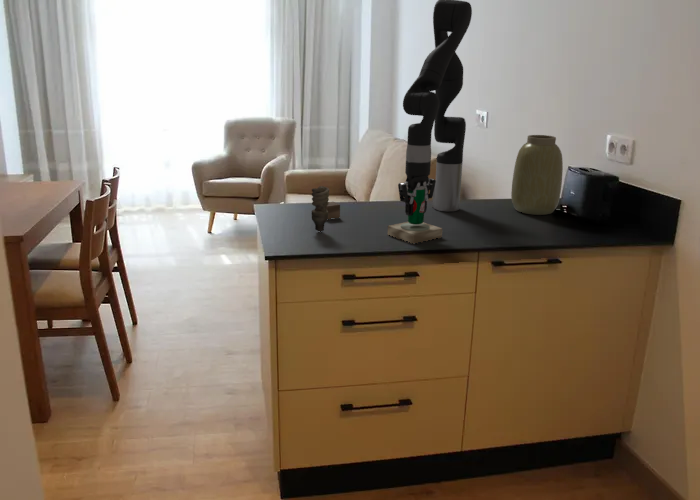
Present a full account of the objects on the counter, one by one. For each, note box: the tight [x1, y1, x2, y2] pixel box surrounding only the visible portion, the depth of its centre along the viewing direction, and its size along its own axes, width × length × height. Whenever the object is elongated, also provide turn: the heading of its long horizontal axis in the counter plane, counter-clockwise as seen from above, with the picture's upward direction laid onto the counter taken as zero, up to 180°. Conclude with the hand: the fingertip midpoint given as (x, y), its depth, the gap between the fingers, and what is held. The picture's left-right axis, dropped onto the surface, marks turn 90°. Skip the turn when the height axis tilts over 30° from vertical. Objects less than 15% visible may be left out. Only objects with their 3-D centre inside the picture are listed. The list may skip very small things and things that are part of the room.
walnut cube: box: [325, 201, 341, 219], centre depth 215 cm, size 5×5×5 cm
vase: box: [510, 134, 564, 216], centre depth 226 cm, size 17×17×27 cm
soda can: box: [407, 185, 425, 225], centre depth 193 cm, size 5×5×12 cm
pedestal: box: [387, 221, 443, 245], centre depth 196 cm, size 12×12×3 cm
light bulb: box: [311, 185, 330, 233], centre depth 196 cm, size 6×6×15 cm
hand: (415, 213), depth 194 cm, fingers closed on soda can, 5 cm apart
